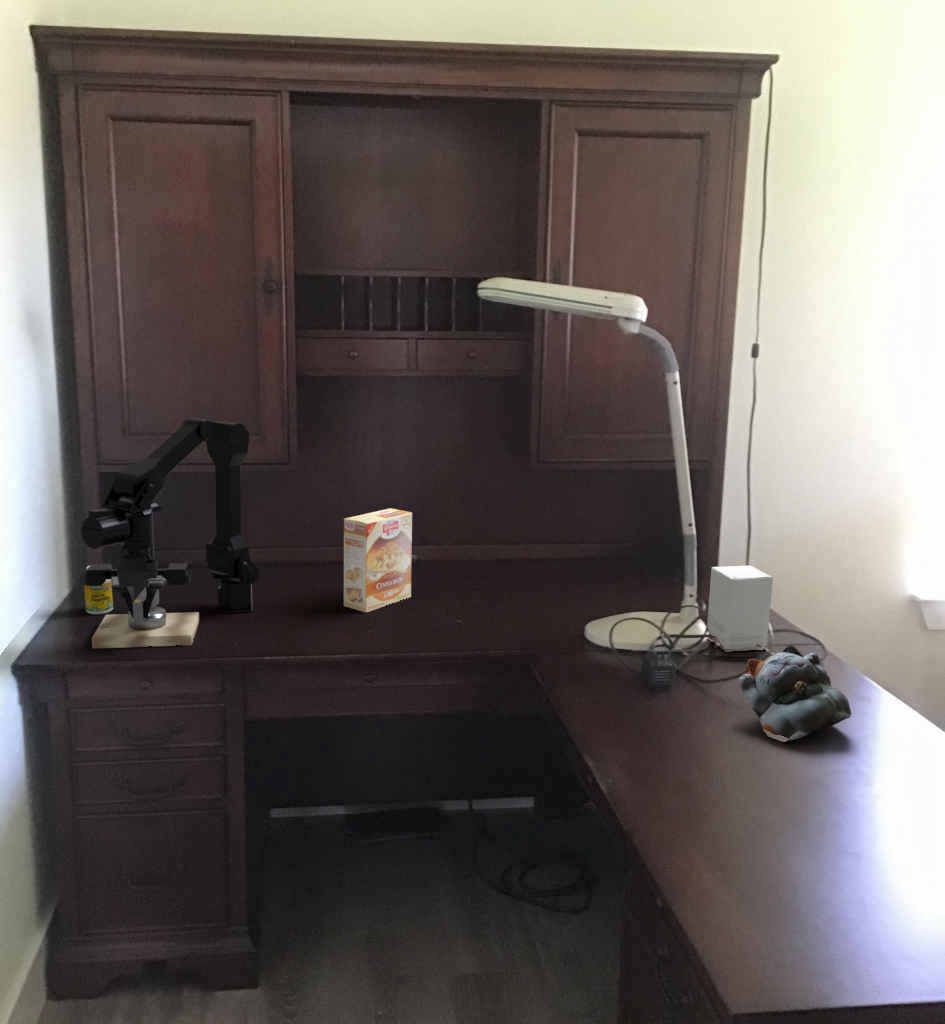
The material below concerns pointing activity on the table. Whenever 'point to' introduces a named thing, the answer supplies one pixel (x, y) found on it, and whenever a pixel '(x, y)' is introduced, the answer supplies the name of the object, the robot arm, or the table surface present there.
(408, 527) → the coffeecake box
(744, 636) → the supplement box
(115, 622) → the base plate
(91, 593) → the supplement bottle
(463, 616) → the table surface
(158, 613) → the silver dome with handle
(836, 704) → the lucky cat figurine
